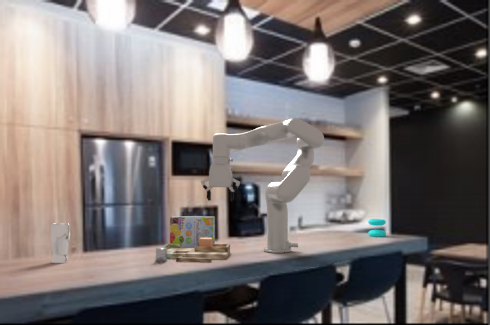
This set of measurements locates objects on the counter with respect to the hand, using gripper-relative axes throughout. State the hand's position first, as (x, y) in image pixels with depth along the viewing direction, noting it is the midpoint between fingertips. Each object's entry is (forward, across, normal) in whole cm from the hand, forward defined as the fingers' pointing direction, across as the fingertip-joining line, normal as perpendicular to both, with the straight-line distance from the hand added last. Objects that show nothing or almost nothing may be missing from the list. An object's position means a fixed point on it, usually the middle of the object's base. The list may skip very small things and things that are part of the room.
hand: (220, 200), depth 183 cm
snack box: (+24, +16, -19) cm, 35 cm away
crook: (+24, +7, +15) cm, 29 cm away
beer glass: (+25, +59, +25) cm, 68 cm away
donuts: (+21, -82, -76) cm, 113 cm away
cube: (+21, +6, +1) cm, 22 cm away
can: (+24, +20, +18) cm, 36 cm away
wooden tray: (+24, +10, +4) cm, 26 cm away
